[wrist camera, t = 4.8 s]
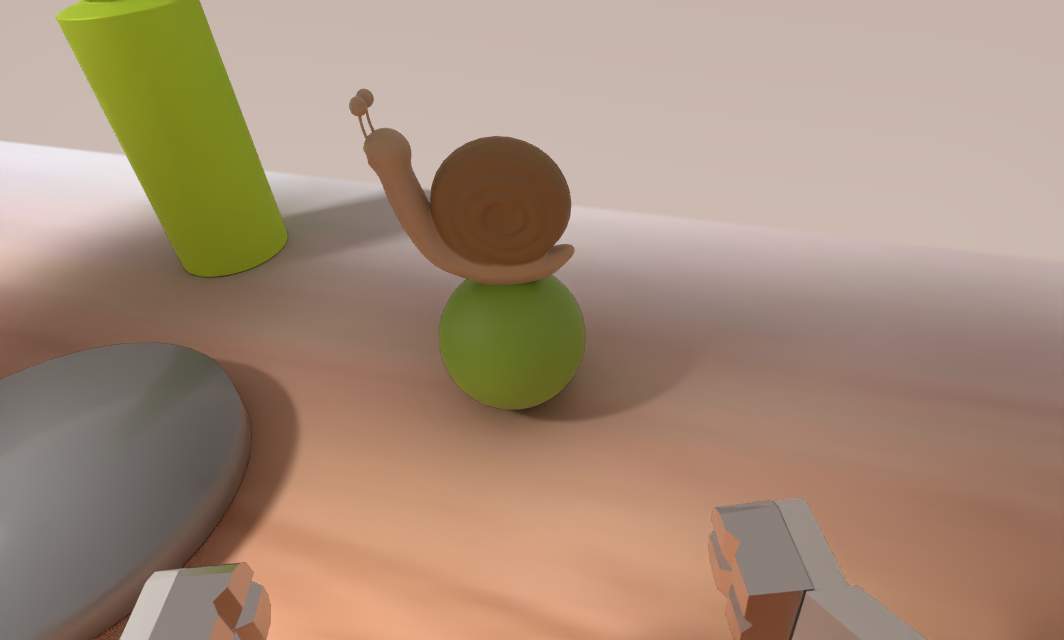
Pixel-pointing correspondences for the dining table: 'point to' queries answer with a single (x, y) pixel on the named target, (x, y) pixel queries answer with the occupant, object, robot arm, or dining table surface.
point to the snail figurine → (491, 260)
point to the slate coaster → (109, 480)
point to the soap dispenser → (179, 128)
